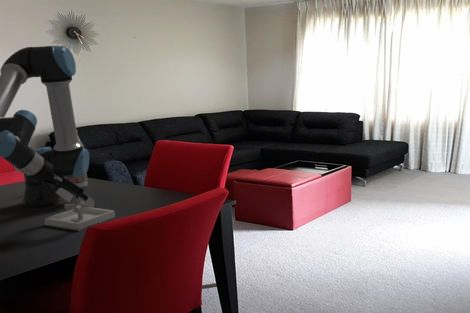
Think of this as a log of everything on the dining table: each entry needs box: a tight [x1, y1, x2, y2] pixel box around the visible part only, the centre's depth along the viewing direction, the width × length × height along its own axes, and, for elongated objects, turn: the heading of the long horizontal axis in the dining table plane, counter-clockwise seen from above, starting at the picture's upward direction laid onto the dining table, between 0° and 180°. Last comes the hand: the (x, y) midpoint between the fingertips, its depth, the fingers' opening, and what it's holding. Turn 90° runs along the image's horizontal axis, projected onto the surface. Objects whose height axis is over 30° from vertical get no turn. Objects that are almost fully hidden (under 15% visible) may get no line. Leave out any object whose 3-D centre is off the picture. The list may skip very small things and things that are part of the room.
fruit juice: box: [66, 128, 88, 188], centre depth 219 cm, size 9×9×28 cm
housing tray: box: [44, 207, 116, 232], centre depth 162 cm, size 17×17×2 cm
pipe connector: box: [64, 196, 95, 220], centre depth 162 cm, size 10×10×10 cm
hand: (81, 201), depth 162 cm, fingers open, 13 cm apart
